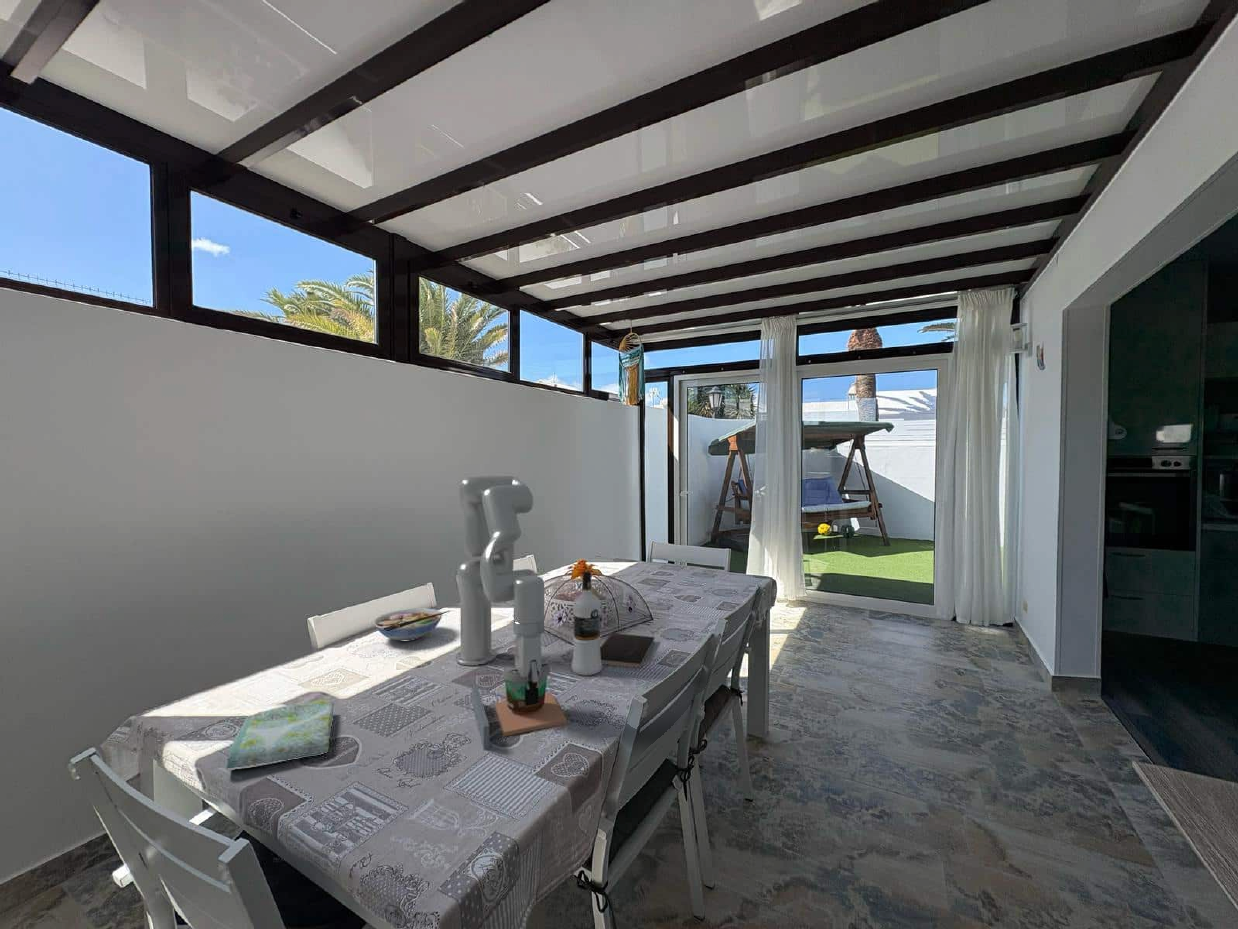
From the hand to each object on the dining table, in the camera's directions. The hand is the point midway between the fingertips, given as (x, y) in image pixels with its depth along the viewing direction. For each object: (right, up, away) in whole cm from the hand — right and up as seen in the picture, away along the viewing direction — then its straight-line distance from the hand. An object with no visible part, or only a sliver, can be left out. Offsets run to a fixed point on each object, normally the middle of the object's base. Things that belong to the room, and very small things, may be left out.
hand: (529, 697), depth 127 cm
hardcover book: (+24, -5, +41) cm, 48 cm away
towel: (-53, -5, -12) cm, 55 cm away
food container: (0, -3, -1) cm, 3 cm away
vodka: (+13, -4, +27) cm, 30 cm away
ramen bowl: (-52, -4, +54) cm, 75 cm away
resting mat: (0, -4, 0) cm, 4 cm away
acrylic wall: (-11, -4, -5) cm, 13 cm away
